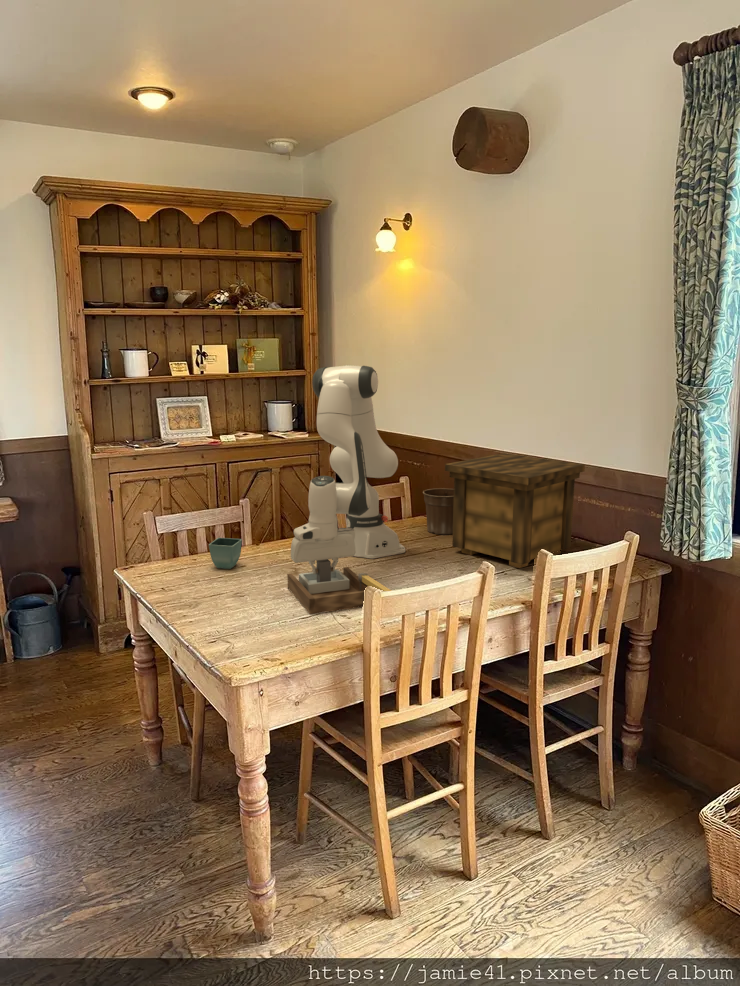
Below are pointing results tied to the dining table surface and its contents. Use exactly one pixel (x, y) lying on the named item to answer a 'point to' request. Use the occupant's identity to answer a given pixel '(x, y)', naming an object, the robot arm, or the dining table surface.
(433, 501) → the plant pot
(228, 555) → the flower pot
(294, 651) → the dining table surface
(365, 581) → the yellow bar
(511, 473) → the crate
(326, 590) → the shallow grey tray
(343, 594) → the tray
